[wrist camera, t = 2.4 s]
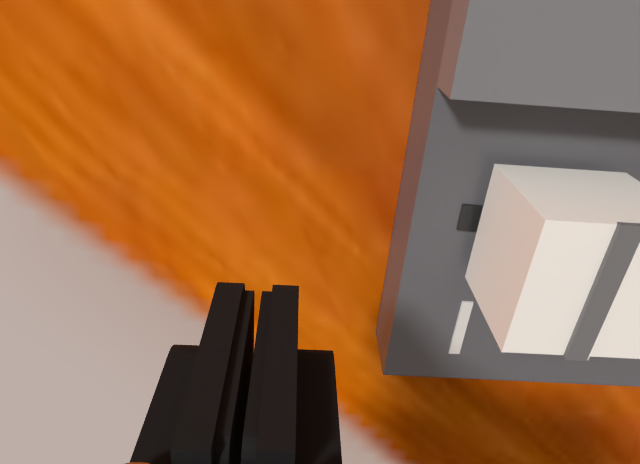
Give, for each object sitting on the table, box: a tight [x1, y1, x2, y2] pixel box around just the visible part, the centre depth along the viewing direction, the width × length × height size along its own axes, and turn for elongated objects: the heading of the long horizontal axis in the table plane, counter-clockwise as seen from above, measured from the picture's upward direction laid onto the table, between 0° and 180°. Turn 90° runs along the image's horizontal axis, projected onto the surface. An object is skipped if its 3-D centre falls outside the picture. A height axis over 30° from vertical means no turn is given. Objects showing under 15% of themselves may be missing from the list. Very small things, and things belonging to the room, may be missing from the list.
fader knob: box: [465, 164, 640, 361], centre depth 14 cm, size 4×4×4 cm
